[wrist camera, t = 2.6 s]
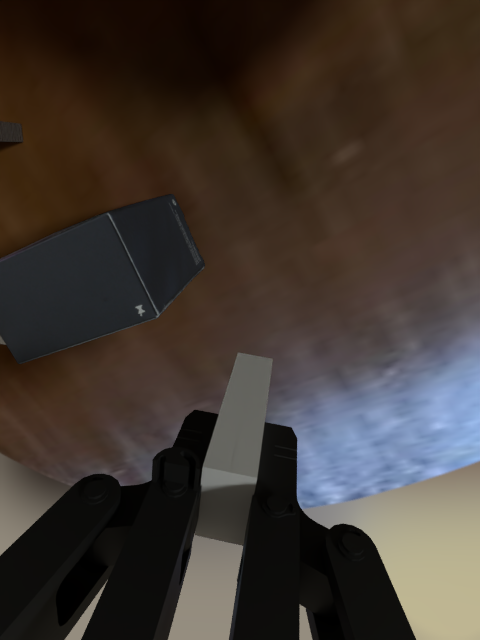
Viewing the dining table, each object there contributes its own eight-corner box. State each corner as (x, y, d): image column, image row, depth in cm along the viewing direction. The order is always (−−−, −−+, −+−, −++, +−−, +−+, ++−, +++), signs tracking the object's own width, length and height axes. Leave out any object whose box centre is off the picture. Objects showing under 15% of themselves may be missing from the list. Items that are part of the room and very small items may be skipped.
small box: (172, 186, 28) (107, 205, 19) (208, 267, 30) (166, 320, 21) (59, 236, 31) (-47, 275, 22) (99, 307, 33) (18, 370, 24)
